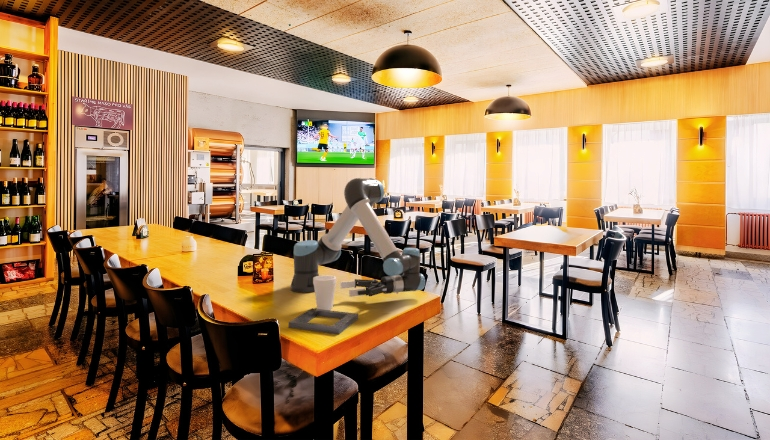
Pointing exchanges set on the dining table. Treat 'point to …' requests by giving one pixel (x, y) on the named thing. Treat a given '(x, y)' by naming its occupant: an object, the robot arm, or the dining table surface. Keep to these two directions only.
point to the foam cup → (324, 291)
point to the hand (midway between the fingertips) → (344, 289)
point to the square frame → (337, 328)
